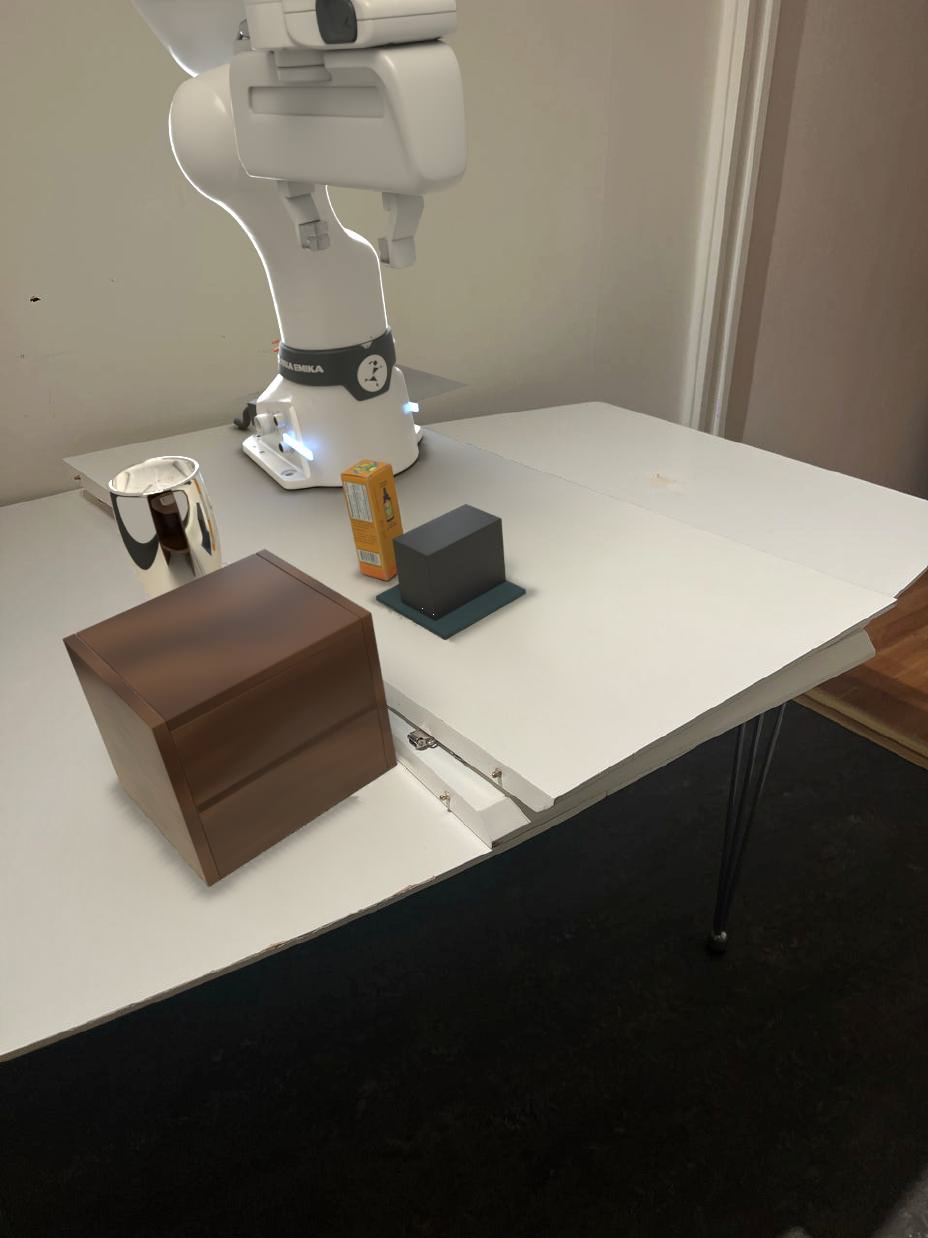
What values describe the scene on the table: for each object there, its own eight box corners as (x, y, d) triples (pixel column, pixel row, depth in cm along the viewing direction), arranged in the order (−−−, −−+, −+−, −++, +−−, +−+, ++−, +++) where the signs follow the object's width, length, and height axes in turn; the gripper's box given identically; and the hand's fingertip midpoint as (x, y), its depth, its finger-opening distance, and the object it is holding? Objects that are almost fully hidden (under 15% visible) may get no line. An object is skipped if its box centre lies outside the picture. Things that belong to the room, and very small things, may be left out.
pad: (376, 599, 77) (375, 595, 77) (455, 558, 82) (454, 554, 82) (445, 639, 71) (444, 635, 71) (526, 593, 76) (525, 589, 76)
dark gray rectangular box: (401, 602, 76) (391, 539, 72) (471, 564, 80) (465, 503, 77) (435, 621, 73) (427, 556, 70) (506, 581, 77) (502, 518, 74)
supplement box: (380, 557, 83) (364, 455, 78) (410, 565, 81) (395, 462, 76) (356, 574, 81) (338, 470, 76) (386, 583, 79) (370, 478, 74)
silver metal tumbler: (166, 680, 70) (107, 504, 62) (154, 635, 75) (99, 469, 67) (254, 653, 72) (209, 479, 64) (236, 612, 77) (193, 447, 69)
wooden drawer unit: (121, 786, 60) (61, 638, 54) (298, 689, 68) (264, 548, 61) (208, 887, 52) (151, 728, 46) (397, 764, 60) (372, 612, 53)
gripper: (188, 22, 58) (234, 249, 66) (385, 3, 45) (414, 289, 53) (271, 15, 62) (306, 232, 69) (477, -5, 49) (492, 265, 56)
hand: (354, 257), depth 61 cm, fingers open, 8 cm apart
